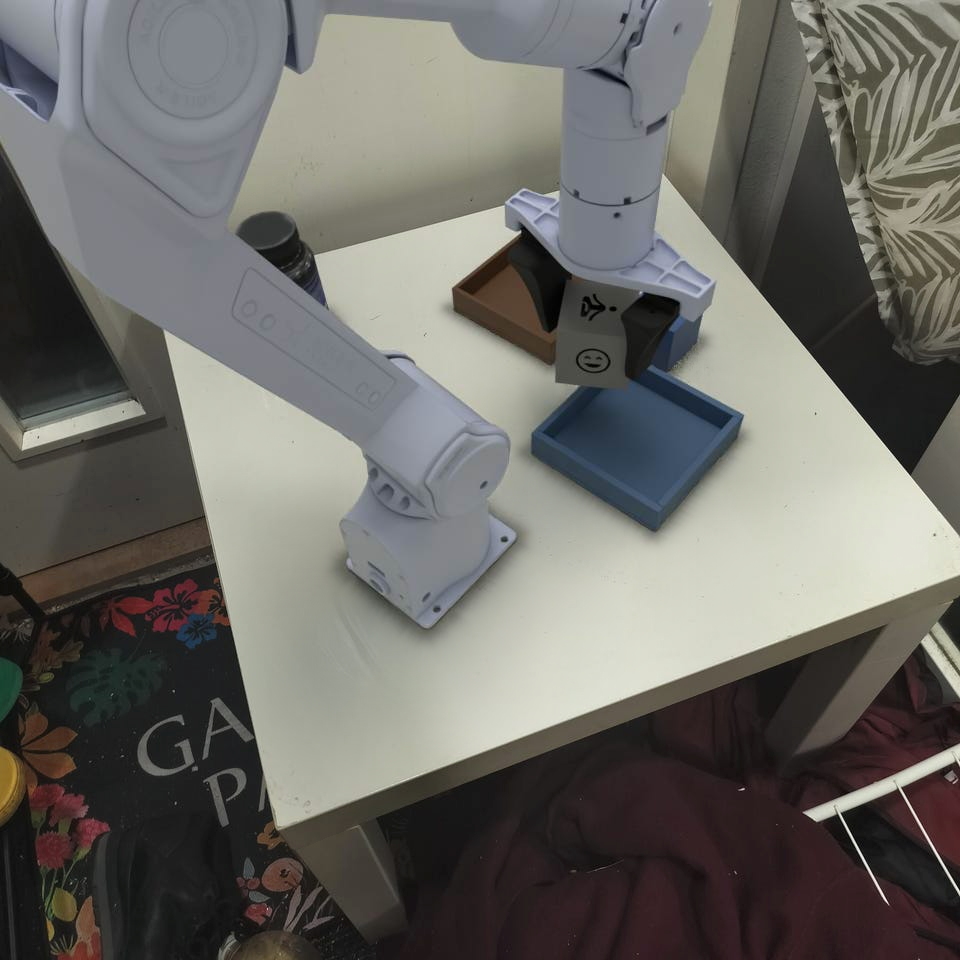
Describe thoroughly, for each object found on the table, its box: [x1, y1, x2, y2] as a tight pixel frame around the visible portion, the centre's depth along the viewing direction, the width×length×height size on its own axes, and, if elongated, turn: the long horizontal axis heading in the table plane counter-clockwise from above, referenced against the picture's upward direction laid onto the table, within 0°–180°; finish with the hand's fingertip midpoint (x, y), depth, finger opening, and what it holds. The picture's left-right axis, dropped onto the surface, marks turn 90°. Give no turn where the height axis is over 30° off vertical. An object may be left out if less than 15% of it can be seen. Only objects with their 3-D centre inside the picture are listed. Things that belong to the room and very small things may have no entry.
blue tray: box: [530, 364, 745, 533], centre depth 63 cm, size 11×11×2 cm
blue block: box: [639, 291, 704, 373], centre depth 68 cm, size 4×4×4 cm
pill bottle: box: [234, 210, 330, 311], centre depth 68 cm, size 6×6×11 cm
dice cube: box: [554, 279, 641, 390], centre depth 58 cm, size 5×5×5 cm
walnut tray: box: [451, 232, 595, 366], centre depth 73 cm, size 11×11×2 cm
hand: (595, 347), depth 59 cm, fingers closed on dice cube, 6 cm apart
